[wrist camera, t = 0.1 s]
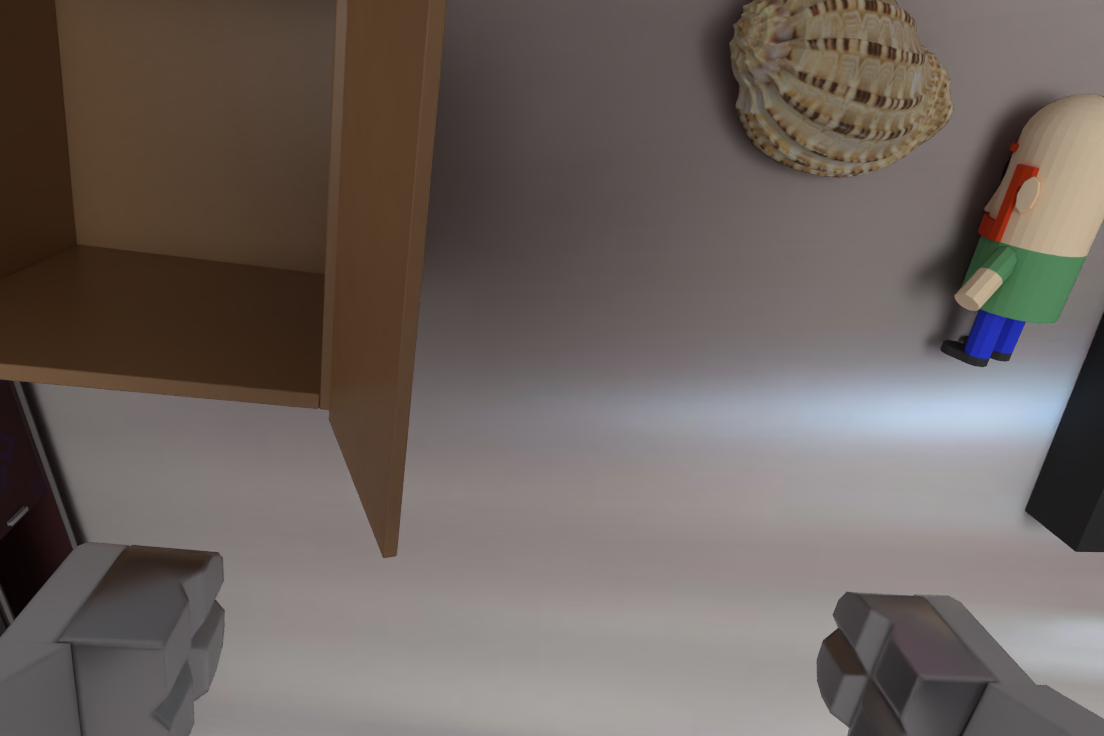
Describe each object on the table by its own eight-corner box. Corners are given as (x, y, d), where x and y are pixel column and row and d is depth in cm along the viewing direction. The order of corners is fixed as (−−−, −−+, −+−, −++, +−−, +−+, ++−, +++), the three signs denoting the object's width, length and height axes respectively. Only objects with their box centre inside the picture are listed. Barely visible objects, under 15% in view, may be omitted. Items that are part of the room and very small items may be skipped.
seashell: (876, -10, 32) (709, -39, 27) (1013, -19, 27) (841, -56, 22) (840, 168, 35) (683, 171, 30) (958, 187, 30) (796, 195, 25)
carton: (37, -107, 26) (-318, -248, 14) (408, -38, 27) (362, -111, 16) (71, 251, 30) (-174, 364, 19) (385, 288, 32) (337, 411, 21)
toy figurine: (982, 330, 38) (1079, 92, 33) (1071, 365, 35) (1194, 107, 30) (888, 348, 34) (982, 79, 29) (978, 391, 31) (1103, 95, 26)
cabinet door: (443, -184, 10) (463, -177, 10) (352, -117, 15) (366, -113, 16) (382, 558, 15) (397, 557, 15) (328, 420, 20) (339, 419, 20)
